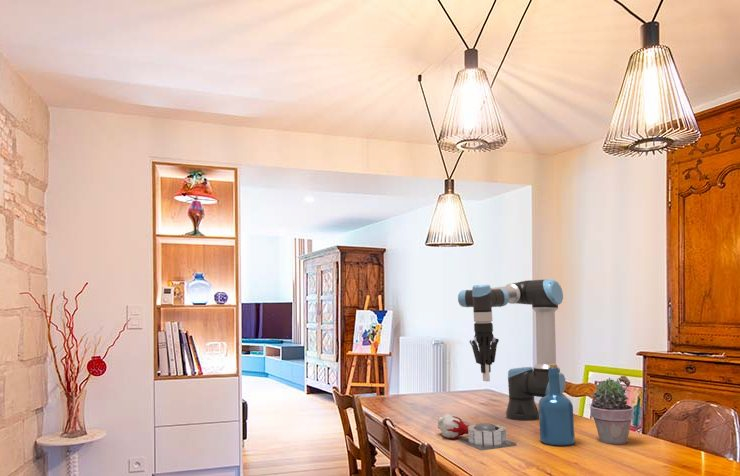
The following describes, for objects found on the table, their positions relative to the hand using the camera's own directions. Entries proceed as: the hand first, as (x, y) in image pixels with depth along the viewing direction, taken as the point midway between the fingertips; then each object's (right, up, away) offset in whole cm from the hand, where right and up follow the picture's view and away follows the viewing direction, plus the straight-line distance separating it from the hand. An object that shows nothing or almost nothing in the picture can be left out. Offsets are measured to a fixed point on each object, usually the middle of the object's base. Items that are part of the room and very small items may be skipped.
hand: (486, 380), depth 231 cm
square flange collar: (-1, -22, -9) cm, 24 cm away
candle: (-13, -24, +2) cm, 27 cm away
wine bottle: (+26, -22, -9) cm, 35 cm away
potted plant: (+47, -21, -10) cm, 52 cm away
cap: (-2, -21, -9) cm, 23 cm away
